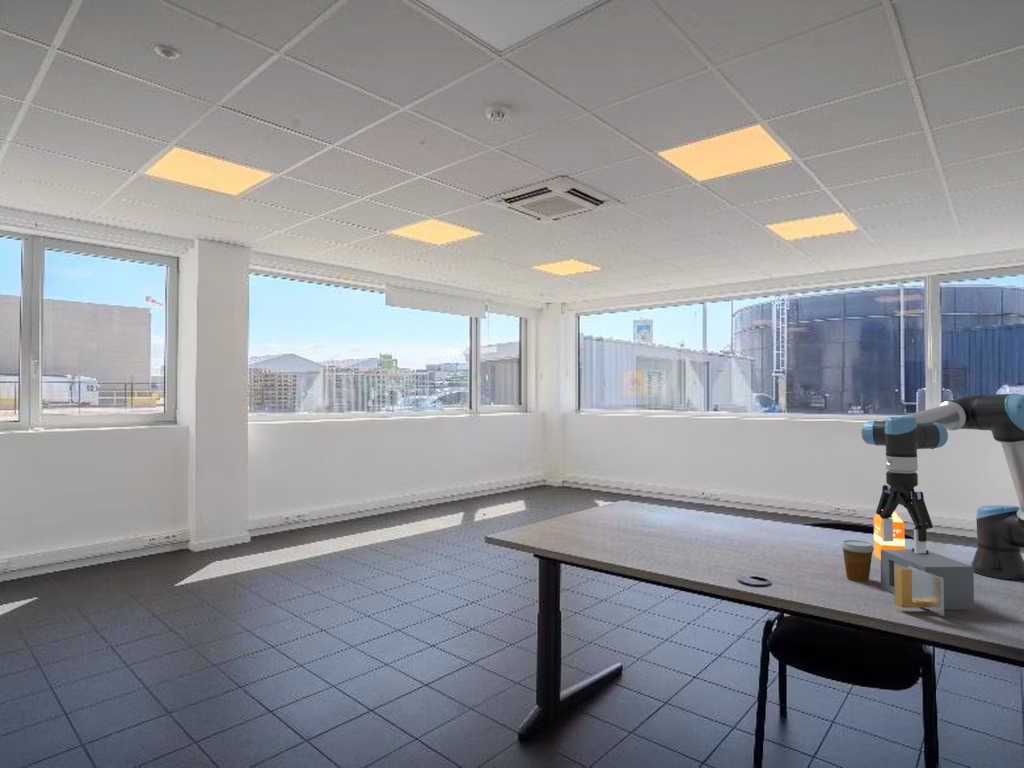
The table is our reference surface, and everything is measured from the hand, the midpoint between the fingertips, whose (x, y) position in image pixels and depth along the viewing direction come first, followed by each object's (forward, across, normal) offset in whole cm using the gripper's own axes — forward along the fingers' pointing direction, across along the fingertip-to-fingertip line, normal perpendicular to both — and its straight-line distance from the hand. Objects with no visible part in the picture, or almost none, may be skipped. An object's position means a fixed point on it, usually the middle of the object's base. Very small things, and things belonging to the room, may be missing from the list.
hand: (903, 546), depth 171 cm
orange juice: (+19, -55, +32) cm, 66 cm away
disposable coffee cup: (+18, -30, +4) cm, 35 cm away
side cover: (+17, 0, +2) cm, 17 cm away
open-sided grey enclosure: (+18, -11, +14) cm, 25 cm away
